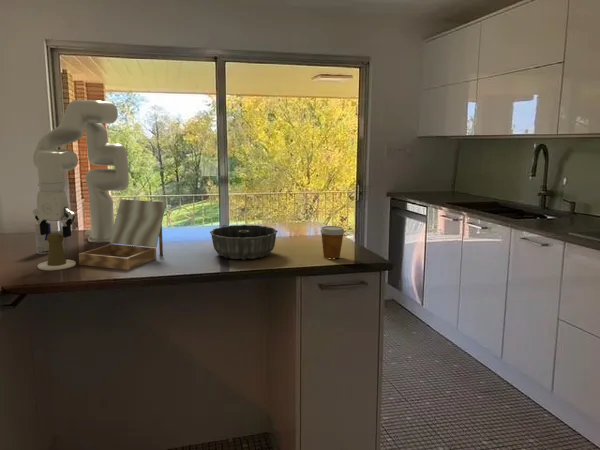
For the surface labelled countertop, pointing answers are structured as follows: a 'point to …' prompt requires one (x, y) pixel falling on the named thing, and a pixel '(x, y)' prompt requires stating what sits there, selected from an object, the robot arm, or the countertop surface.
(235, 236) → the bundt pan
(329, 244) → the disposable coffee cup
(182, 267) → the countertop surface
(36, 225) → the energy drink
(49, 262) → the cork
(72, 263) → the saucer
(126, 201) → the cold frame
